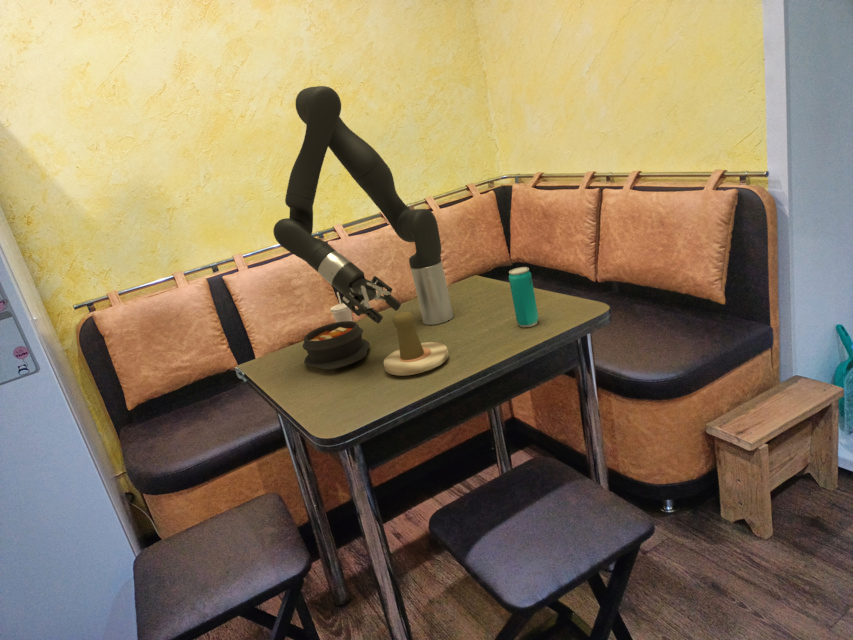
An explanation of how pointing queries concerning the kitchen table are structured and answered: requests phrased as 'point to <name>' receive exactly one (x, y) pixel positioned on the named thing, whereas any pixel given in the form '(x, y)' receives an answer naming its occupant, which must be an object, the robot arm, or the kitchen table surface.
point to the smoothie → (341, 312)
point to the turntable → (417, 360)
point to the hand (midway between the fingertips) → (390, 314)
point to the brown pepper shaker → (407, 336)
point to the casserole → (335, 345)
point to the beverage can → (523, 297)
